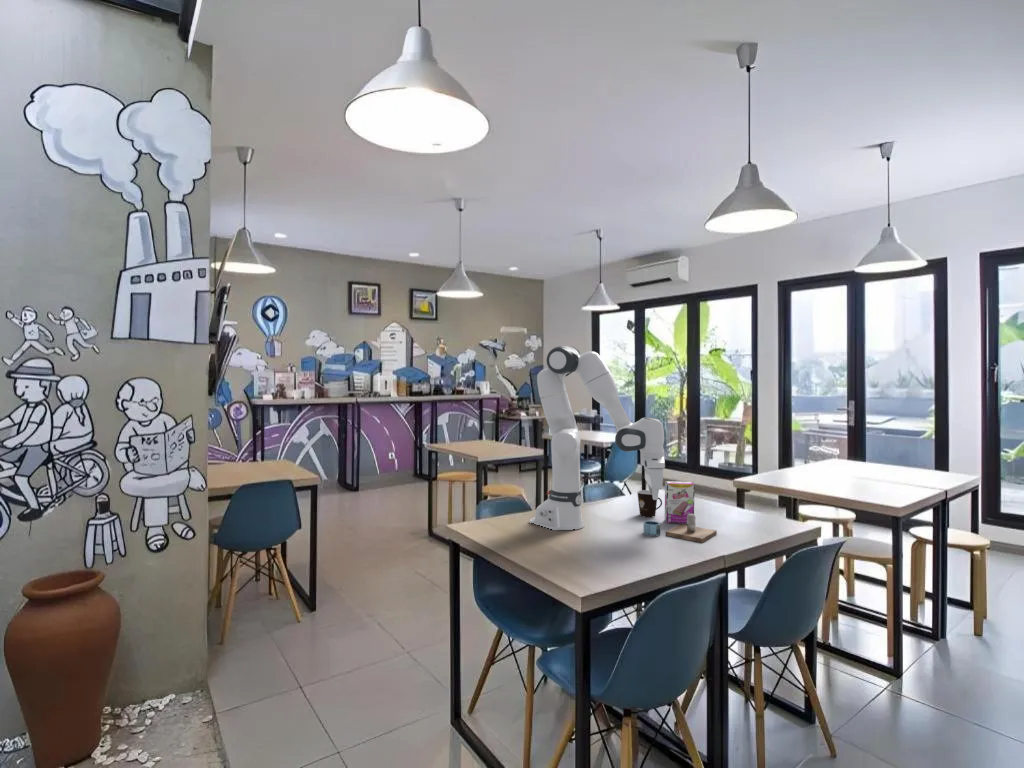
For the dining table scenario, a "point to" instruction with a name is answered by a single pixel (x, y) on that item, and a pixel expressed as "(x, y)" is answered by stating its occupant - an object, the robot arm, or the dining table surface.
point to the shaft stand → (691, 531)
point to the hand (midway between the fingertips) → (653, 496)
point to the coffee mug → (647, 503)
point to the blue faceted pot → (651, 528)
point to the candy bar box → (678, 501)
